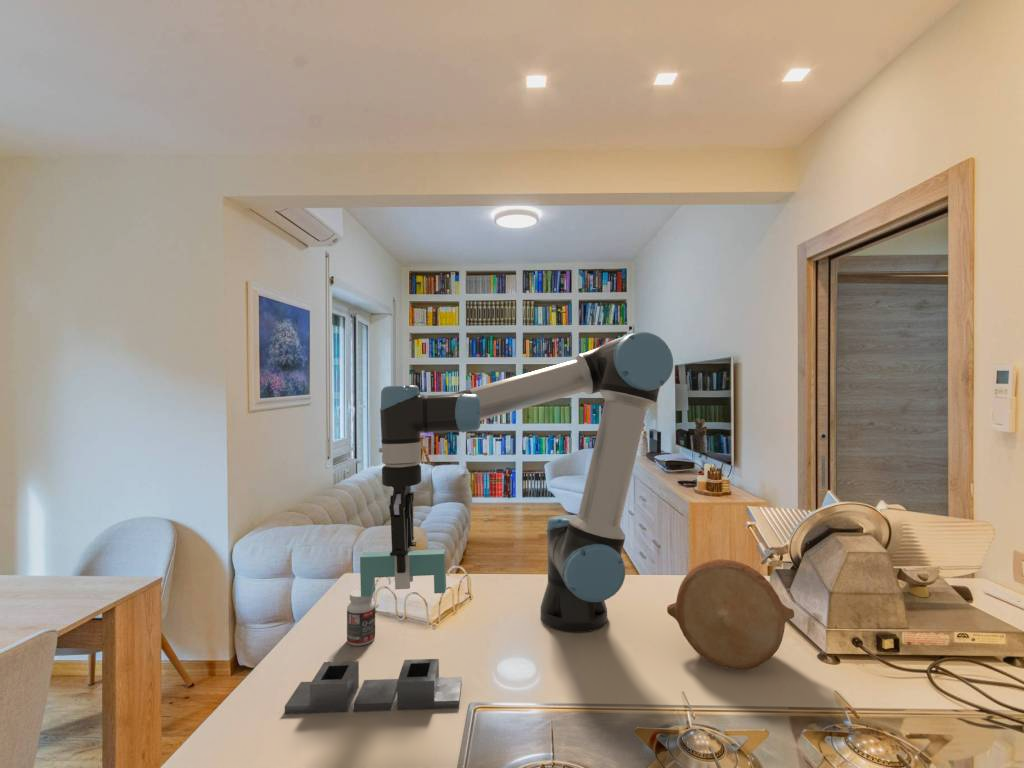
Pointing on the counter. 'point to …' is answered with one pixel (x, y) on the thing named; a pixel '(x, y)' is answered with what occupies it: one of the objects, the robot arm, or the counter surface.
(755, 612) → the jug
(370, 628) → the pill bottle
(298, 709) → the rail
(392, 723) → the counter surface
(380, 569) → the clip
